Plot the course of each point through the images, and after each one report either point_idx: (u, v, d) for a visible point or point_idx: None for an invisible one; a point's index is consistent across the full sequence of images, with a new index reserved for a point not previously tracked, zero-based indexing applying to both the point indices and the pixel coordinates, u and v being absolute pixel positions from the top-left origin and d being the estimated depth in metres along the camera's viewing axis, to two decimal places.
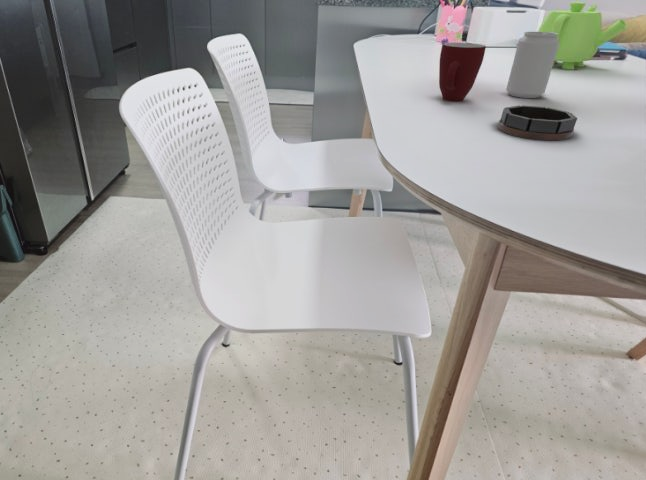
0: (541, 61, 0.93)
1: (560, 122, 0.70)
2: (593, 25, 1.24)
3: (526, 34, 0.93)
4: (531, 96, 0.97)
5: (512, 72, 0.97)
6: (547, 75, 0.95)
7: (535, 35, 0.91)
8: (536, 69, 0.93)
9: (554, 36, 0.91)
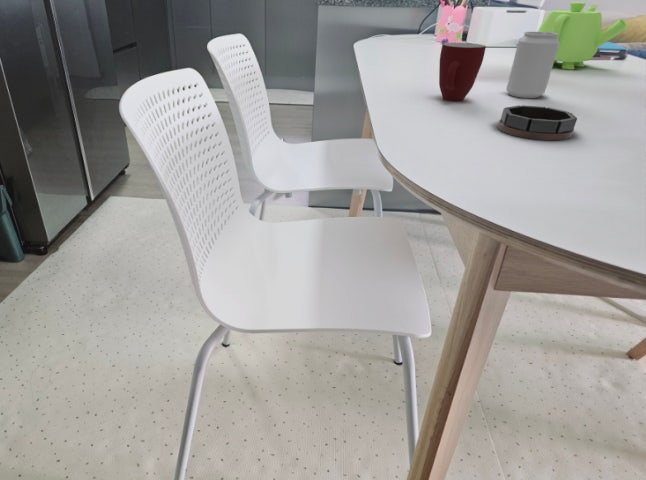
0: (541, 61, 0.93)
1: (560, 122, 0.70)
2: (593, 26, 1.24)
3: (526, 34, 0.93)
4: (531, 96, 0.97)
5: (512, 72, 0.97)
6: (547, 75, 0.95)
7: (535, 35, 0.91)
8: (536, 69, 0.93)
9: (554, 36, 0.91)
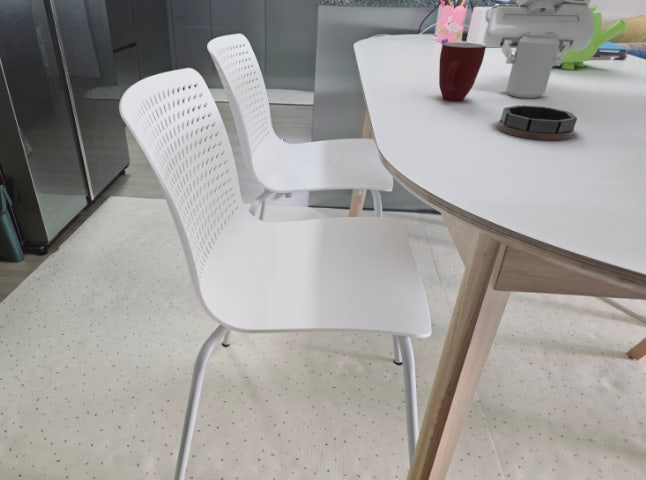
0: (541, 61, 0.93)
1: (560, 122, 0.70)
2: None
3: (526, 34, 0.93)
4: (531, 96, 0.97)
5: (512, 72, 0.97)
6: (547, 75, 0.95)
7: (535, 35, 0.91)
8: (536, 69, 0.93)
9: (554, 36, 0.91)
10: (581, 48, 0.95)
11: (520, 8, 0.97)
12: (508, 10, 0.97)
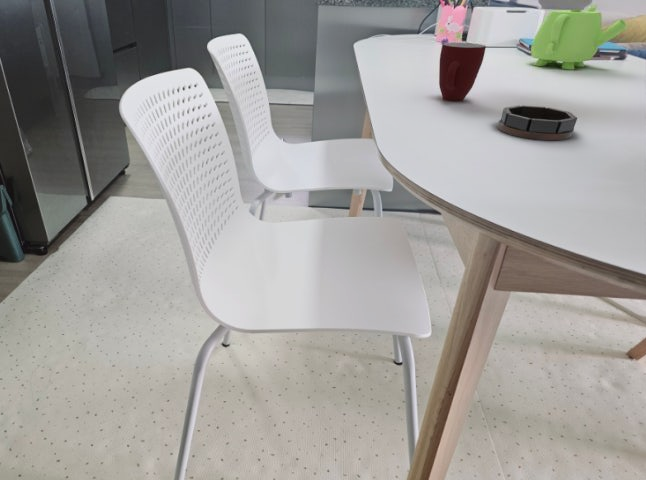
0: None
1: (560, 122, 0.70)
2: (593, 25, 1.24)
3: None
4: (574, 7, 0.71)
5: None
6: None
7: None
8: None
9: None
10: None
11: None
12: None
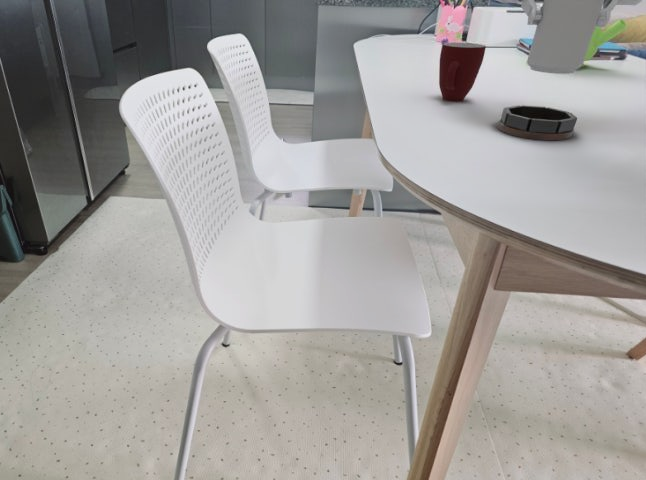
0: (581, 19, 0.64)
1: (560, 122, 0.70)
2: None
3: None
4: (563, 71, 0.68)
5: (536, 37, 0.68)
6: (587, 40, 0.66)
7: None
8: (572, 30, 0.65)
9: None
10: (636, 2, 0.67)
11: None
12: None
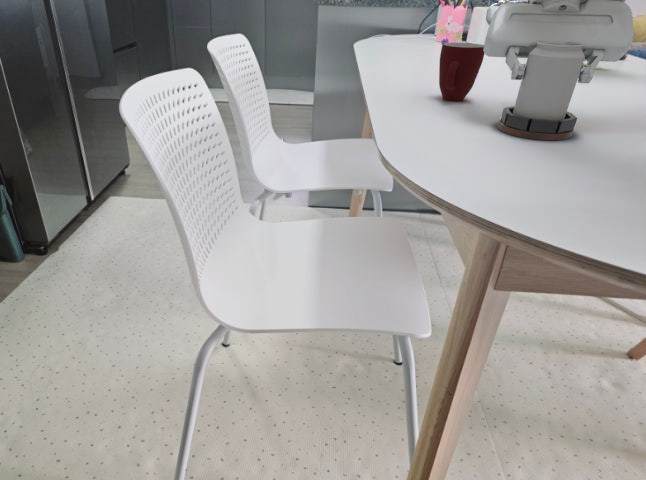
0: (561, 82, 0.68)
1: (560, 122, 0.70)
2: None
3: (539, 45, 0.69)
4: None
5: (520, 95, 0.73)
6: (567, 99, 0.70)
7: (552, 46, 0.67)
8: (553, 91, 0.69)
9: (578, 48, 0.67)
10: (615, 59, 0.71)
11: (533, 5, 0.72)
12: (516, 8, 0.73)
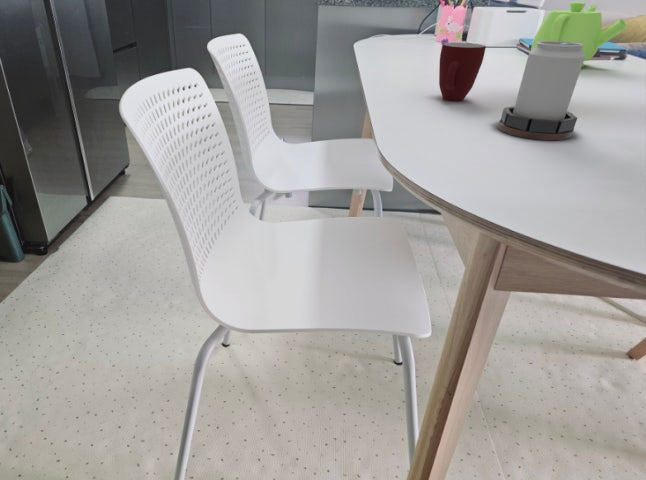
0: (561, 82, 0.68)
1: (560, 122, 0.70)
2: (593, 26, 1.24)
3: (539, 45, 0.69)
4: None
5: (520, 95, 0.73)
6: (567, 99, 0.70)
7: (552, 46, 0.67)
8: (553, 91, 0.69)
9: (578, 48, 0.67)
10: None
11: None
12: None
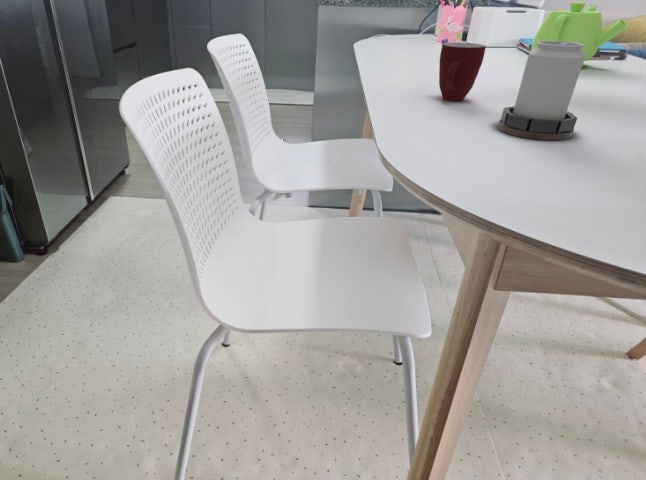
0: (561, 82, 0.68)
1: (560, 122, 0.70)
2: (593, 25, 1.24)
3: (539, 45, 0.69)
4: None
5: (520, 95, 0.73)
6: (567, 99, 0.70)
7: (552, 46, 0.67)
8: (553, 91, 0.69)
9: (578, 48, 0.67)
10: None
11: None
12: None
